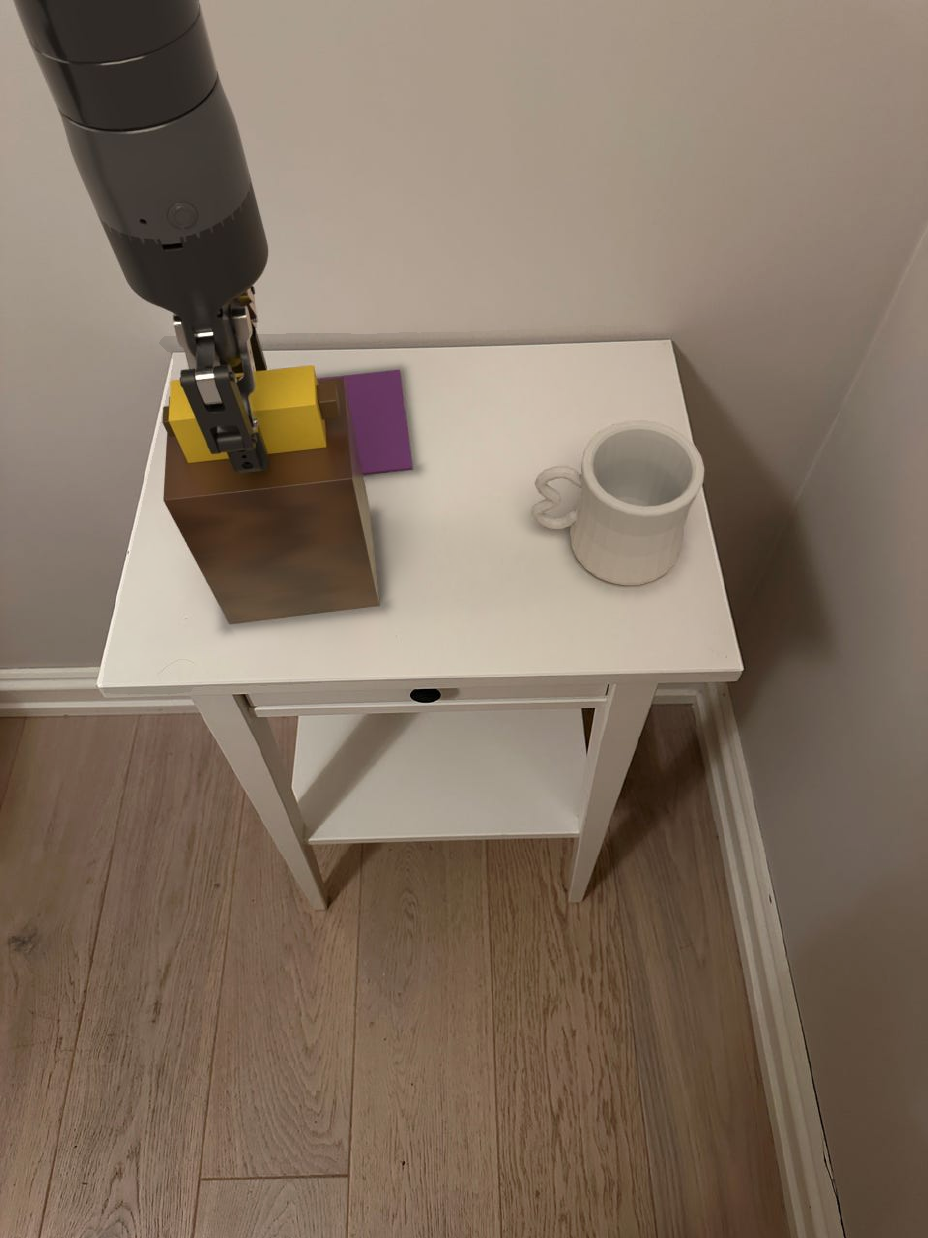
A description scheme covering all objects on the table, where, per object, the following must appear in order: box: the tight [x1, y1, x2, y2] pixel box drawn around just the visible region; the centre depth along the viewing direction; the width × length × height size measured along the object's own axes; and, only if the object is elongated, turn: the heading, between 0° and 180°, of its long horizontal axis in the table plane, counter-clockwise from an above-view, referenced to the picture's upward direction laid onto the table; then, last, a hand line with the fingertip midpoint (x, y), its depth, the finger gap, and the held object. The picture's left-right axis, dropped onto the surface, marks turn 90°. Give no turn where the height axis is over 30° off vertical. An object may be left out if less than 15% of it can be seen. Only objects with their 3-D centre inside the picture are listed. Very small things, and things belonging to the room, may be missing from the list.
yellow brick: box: [161, 364, 340, 463], centre depth 55 cm, size 11×3×4 cm, turn 97°
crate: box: [162, 377, 380, 625], centre depth 64 cm, size 12×9×16 cm
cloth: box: [317, 368, 414, 476], centre depth 78 cm, size 14×12×1 cm
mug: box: [531, 419, 706, 586], centre depth 67 cm, size 12×9×10 cm
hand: (252, 420), depth 55 cm, fingers open, 7 cm apart
